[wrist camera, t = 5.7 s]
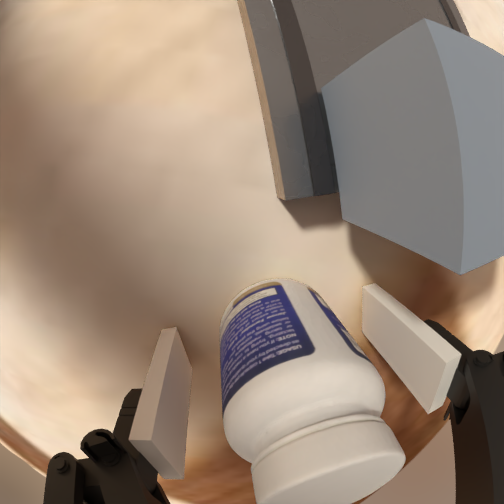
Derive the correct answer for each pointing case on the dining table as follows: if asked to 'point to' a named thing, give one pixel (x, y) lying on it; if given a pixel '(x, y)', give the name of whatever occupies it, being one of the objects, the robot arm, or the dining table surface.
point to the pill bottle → (302, 399)
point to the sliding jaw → (423, 144)
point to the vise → (317, 72)
